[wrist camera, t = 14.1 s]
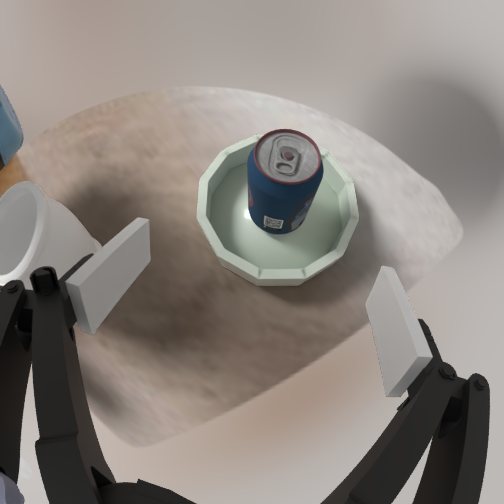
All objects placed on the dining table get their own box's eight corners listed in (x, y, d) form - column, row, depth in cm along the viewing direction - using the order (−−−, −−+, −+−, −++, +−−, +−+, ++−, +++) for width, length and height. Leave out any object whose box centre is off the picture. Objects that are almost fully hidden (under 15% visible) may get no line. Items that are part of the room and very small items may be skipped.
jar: (120, 294, 33) (45, 267, 18) (60, 313, 32) (-19, 296, 17) (108, 219, 35) (46, 163, 21) (52, 243, 34) (-15, 203, 20)
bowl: (176, 239, 34) (166, 226, 30) (249, 136, 39) (249, 115, 34) (307, 313, 32) (315, 310, 28) (364, 193, 36) (376, 177, 32)
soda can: (256, 180, 36) (258, 117, 24) (309, 194, 35) (332, 134, 23) (241, 229, 34) (236, 177, 22) (298, 244, 33) (321, 199, 22)
